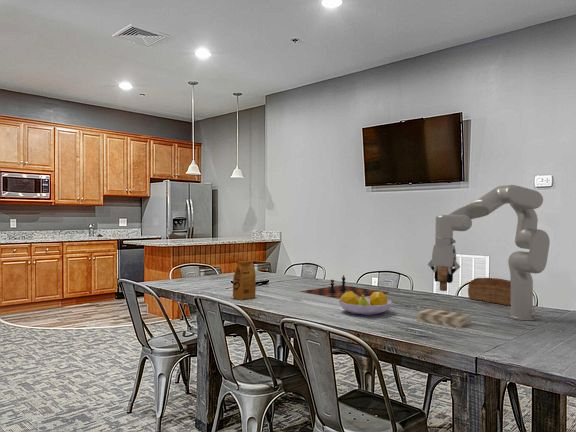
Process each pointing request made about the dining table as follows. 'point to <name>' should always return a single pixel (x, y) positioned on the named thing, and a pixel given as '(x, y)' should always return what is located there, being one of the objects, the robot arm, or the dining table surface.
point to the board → (444, 317)
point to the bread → (490, 290)
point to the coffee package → (244, 281)
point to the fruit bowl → (365, 303)
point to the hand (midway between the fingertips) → (443, 281)
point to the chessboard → (341, 290)
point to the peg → (443, 277)
